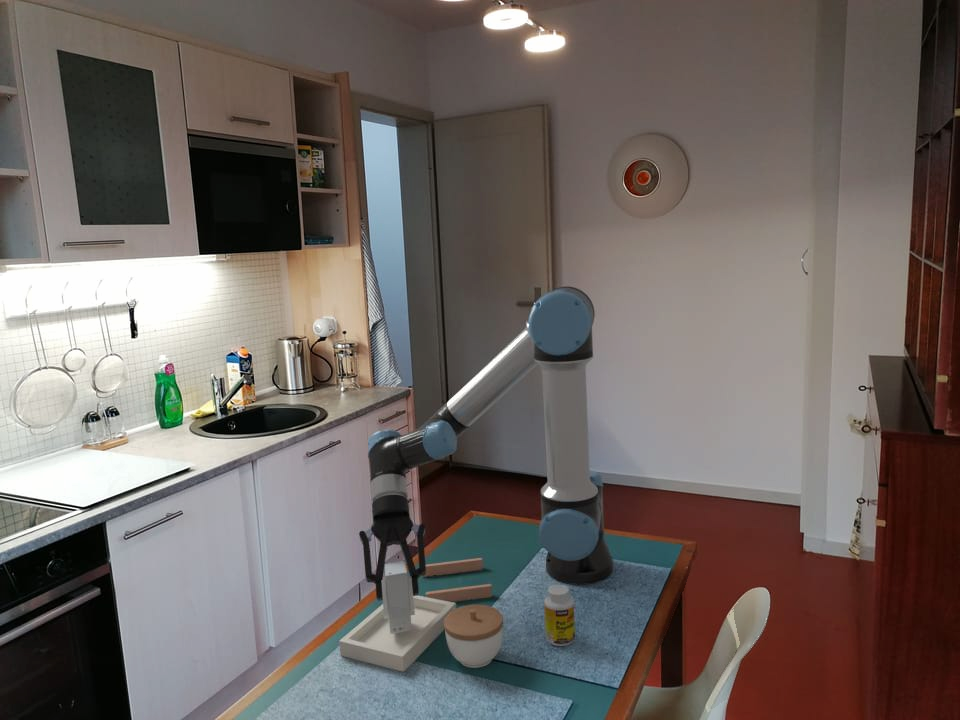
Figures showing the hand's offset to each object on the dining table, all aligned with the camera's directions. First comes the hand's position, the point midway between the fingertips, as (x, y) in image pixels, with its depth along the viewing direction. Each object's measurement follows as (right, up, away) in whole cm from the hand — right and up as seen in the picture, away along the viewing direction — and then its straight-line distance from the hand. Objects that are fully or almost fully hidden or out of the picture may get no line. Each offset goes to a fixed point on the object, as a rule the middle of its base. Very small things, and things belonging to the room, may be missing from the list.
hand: (399, 614), depth 134 cm
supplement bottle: (+31, -5, 0) cm, 31 cm away
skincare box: (0, -4, +5) cm, 6 cm away
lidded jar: (+15, -7, -4) cm, 17 cm away
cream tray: (0, -6, +5) cm, 7 cm away
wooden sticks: (+10, -2, +23) cm, 26 cm away
